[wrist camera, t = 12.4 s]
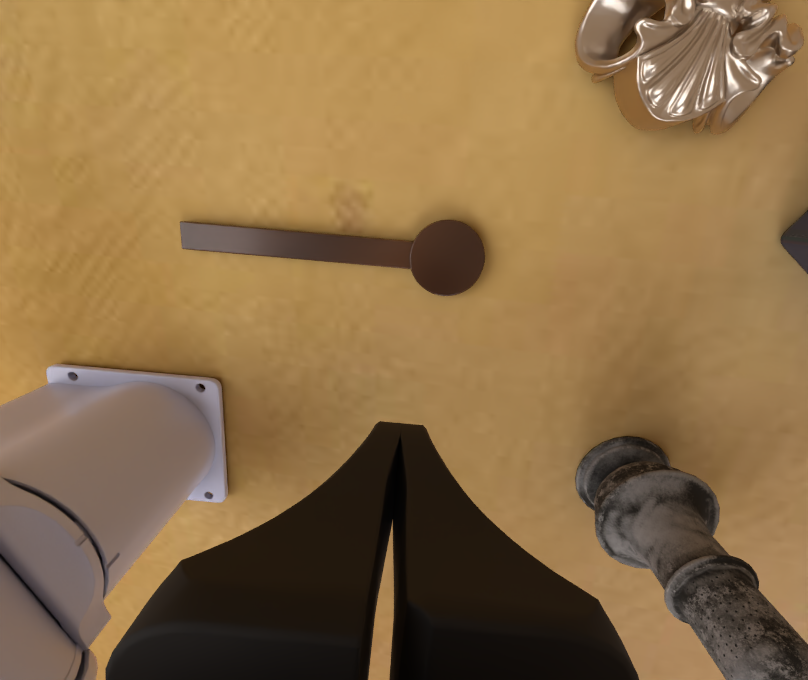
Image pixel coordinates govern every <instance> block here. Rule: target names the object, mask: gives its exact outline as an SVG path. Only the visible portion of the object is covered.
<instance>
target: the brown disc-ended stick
mask: <svg viewBox="0 0 808 680" xmlns="http://www.w3.org/2000/svg"><path fill="white" fill-rule="evenodd" d="M180 229H181V241H182V248H183V249H191V250H202V251H213V252H225V253H236V254H247V255H259V256H270V257H281V258H292V259H304V260H315V261H326V262H338V263H349V264H360V265H372V266H383V267H394V268H406V269H411V271H412V273H413V276H414V278H415V279H416V281H417V282H418V283H419V284H420V285H421V286H422V287H423V288H424V289H425V290H427V291H429V292H431V293H433V294H436V295H441V296H452V295H456V294H459V293H462V292H464V291H466V290H467V289H469V288H470V287H471V286H472V285H473V284H474V283H475V282H476V281H477V280H478V278H479V276H480V275H481V272H482V270H483V267H484V262H485V252H484V247H483V244H482V241H481V239H480V238H479V236H478V235H477V233H476V232H475V231H474V230H473V229H472V228H471V227H469V226H468V225H466V224H464V223H462V222H459V221H455V220H440V221H436V222H434V223H431V224H430V225H428V226H426V227H425V228H424V229H423V230H422V231H421V232H420V233H419V234H418V235H417V236H416V238H415V240H414V241H403V240H392V239H380V238H369V237H358V236H346V235H335V234H323V233H312V232H301V231H289V230H278V229H266V228H255V227H243V226H232V225H221V224H209V223H198V222H186V221H181V222H180Z"/></svg>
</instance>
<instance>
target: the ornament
mask: <svg viewBox="0 0 808 680" xmlns="http://www.w3.org/2000/svg"><path fill="white" fill-rule="evenodd" d="M769 1H771V0H592V1H591V3H590V5H589V6H588V8H587V10H586V12H585V14H584V16H583V18H582V20H581V22H580V25H579V28H578V31H577V35H576V40H575V52H576V58H577V61H578V63H579V65H580V66H581V67H582V68H583V69H584V70H586V71H587V72H590V73H594V74H593V75H592V82H593V83H597V82H600V81H602V80H604V79H606V78H608V77H611V76H613V75H614V93H615V98H616V102H617V104H618V107H619V108H620V110H621V112H622V114H623V115H624V117H625V118H626V119H627V120H628V122H629V123H630V124H631V125H632V126H634V127H636V128H638V129H641V130H660V129H665V128H668V127H671V126H674V125H677V124H680V123H683V122H686V121H689V120H692V119H693V131H694V133H700V132H701V131H702V130H703V129H704V127H705V125H706V124H708V125H710V132H711V133H712V134H720V133H723V132H725V131H727V130H728V129H729V128H730V127H731V126H733V125H734V124H735V123H736V122H737V121H738V120H739V118H740V117H741V116H742V115H743V114H744V112H745V111H746V110H747V109H748V108H749V107H750V105H751V104H752V103H753V102H754V100H755V99H756V98H757V97H758V95H759V94H760V93H761V92H762V90H763V89H764V88H765V87H766V86H767V85H768V83H770V82H771V81H772V80H773V79H774V78H775V77H776V76H777V75H778V74H779V73H781V72H782V71H783V70H785V69H786V68H788V67H790V66H791V65H792V64H793V63H794V61H795V58H794V57H793V55H794V54H795V53H796V52H797V51H798V50H799V49H800V48H801V47H802V46H803V44H804V37H803V33H802V28H801V27H800V26H799V25H797V24H795V23H791V24H787V17H786V14H781V15H779V16H777V17H775V18H773V16H774V15H775V13H776V11H777V8H778V6H777V4H773V3H767V2H769ZM664 6H666V8H665V16H664V19H663V20H662V21H656V20H653V19H650V17H651V16H652V15H654V14H655V13H656V12H658V11H659V10H660V9H662V8H663V7H664ZM633 31H635V33H636V35H637V42H636V44H635V46H634V47H633V48H632V49H631V50H630V51H629V52H628V53H626V54H625V55H623V56H620V57H618V54H619V49H620V47H621V45H622V43H623V42H624V41H625V39H626V38H627V37H628V36H629V35H630V34H631V33H632V32H633Z"/></svg>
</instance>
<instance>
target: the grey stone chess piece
mask: <svg viewBox="0 0 808 680" xmlns="http://www.w3.org/2000/svg"><path fill="white" fill-rule="evenodd" d="M575 480H576V489H577V491H578V494H579V496H580V498H581V499H582V500H583V502H584V503H585V504H586V505H587V506H588V507H590V508H591V509H593V510H594V511H595V528H596V536H597V538H598V540H599V542H600V545H601V547H602V548H603V549H604V550H605V551H606V552H607V553H608V555H609V556H610V557H612V558H614V559H615V560H617V561H619V562H620V563H622V564H625V565H629V566H632V567H635V568H645V569H651V570H652V571H653V573H654V574H655V576H656V577H657V579H658V581H659V582H660V584H661V585H662V587H663V588H664V590H665V592H664V600H665V603H666V605H667V608H668V610H669V611H670V612H671V613H672V614H673V616H674V617H676V618H677V619H679V620H680V621H682V622H685V623H688V624H690V626H691V627H692V629H693V630H694V632H695V633H696V635H697V636H698V638H699V639H700V641H701V642H702V644H703V645H704V647H705V648H706V650H707V651H708V653H709V654H710V656H711V657H712V659H713V661H714V662H715V664H716V665H717V667H718V668H719V670H720V671H721V673H722V674H723V676H724V677H725V679H726V680H808V644H807V643H806V642H805V641H804V640H803V639H802V637H801V636H800V635H799V634H798V633H797V632H796V631H795V630H794V629H793V627H792V626H791V625H790V624H789V623H788V622H787V621H786V620H785V619H784V618H783V616H782V615H781V614H780V613H779V612H778V611H777V610H776V609H775V608H774V606H773V605H772V604H771V603H770V602H769V601H768V600H767V599H766V598H765V597H764V595H763V594H762V593H761V592H760V591H759V590H758V588H759V581H758V577H757V574H756V573H755V571H754V570H753V569H752V567H751V566H750V565H749V564H747V563H746V562H744V561H743V560H741V559H739V558H736V557H733V556H730V555H729V554H728V553H727V552H726V551H725V550H724V548H723V547H722V546H721V545H720V544H719V543H718V542H717V541H716V540H715V539H714V538H713V535H714V533H715V530H716V528H717V525H718V522H719V510H720V507H719V504H718V501H717V498H716V495H715V494H714V492H713V491H712V490H711V489H710V487H709V486H708V485H707V484H706V483H705V482H703V481H702V480H700V479H699V478H697V477H696V476H694V475H691V474H688V473H685V472H682V471H680V470H678V469H675V468H672V467H671V466H670V463H669V460H668V457H667V456H666V455H665V453H664V452H663V451H662V449H661V448H660V447H658V446H657V445H655V444H654V443H652V442H651V441H648V440H645V439H642V438H639V437H620V438H614V439H611V440H608V441H606V442H603V443H601V444H600V445H598V446H597V447H595V448H593V449H592V450H591V451H590V452H589V453H588V454H587V455H586V456H585V457H584V458H583V460H582V461H581V463H580V465H579V467H578V469H577V474H576V478H575Z"/></svg>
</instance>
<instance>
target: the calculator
mask: <svg viewBox="0 0 808 680" xmlns="http://www.w3.org/2000/svg"><path fill="white" fill-rule="evenodd" d="M781 244H782V246H783V247H784V248H785V249H786V250H787V251H788V253H789V254H790V255H791V256H792V257H793V258H794V259H795V260H796V261H797V262H798V263H799V265H800V266H801V267H802V268H803V269H804V270H805V271H806V272H807V273H808V211H807V212H806V213H805V214H804V215H803V216H801V217H800V218H799V219H798V220H797V221H796V222H795V223H794V224H793V225H792V226H791V227H790V228H789V229H787V231H786V232H785V233H784V234H783V235H782V237H781Z"/></svg>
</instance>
